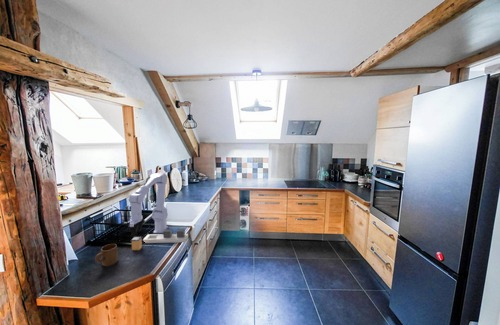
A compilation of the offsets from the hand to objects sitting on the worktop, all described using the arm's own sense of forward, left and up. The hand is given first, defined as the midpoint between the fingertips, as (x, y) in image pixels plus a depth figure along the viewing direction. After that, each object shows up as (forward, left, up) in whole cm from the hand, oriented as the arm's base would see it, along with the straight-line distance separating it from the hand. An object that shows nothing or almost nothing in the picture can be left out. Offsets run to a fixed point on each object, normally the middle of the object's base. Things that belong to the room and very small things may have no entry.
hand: (136, 233), depth 128 cm
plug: (0, 0, -10) cm, 10 cm away
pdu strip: (-10, +15, -10) cm, 20 cm away
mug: (+16, -9, -10) cm, 21 cm away
